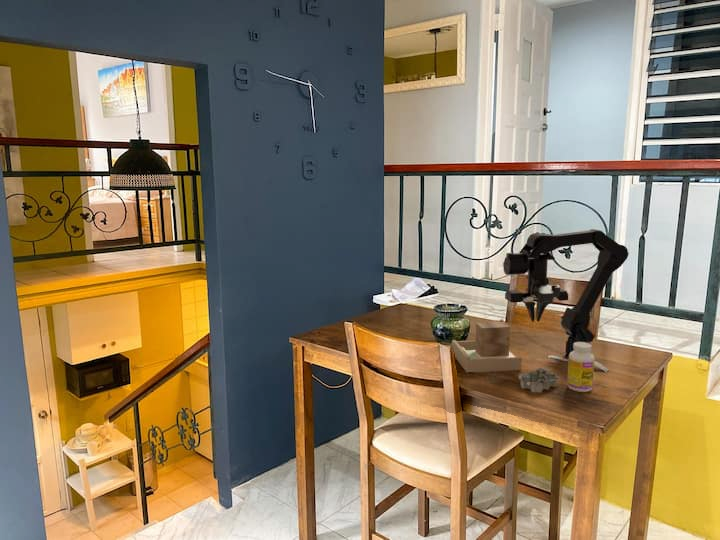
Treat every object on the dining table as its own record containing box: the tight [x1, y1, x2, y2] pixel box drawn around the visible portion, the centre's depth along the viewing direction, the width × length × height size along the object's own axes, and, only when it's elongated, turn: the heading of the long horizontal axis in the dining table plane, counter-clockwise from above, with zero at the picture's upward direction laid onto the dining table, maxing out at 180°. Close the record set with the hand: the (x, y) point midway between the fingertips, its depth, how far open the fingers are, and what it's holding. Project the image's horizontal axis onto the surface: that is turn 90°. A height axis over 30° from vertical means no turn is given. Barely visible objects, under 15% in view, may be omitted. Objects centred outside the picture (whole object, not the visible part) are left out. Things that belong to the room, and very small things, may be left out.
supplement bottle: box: [566, 342, 595, 393], centre depth 152 cm, size 7×7×13 cm
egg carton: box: [517, 367, 560, 393], centre depth 155 cm, size 11×8×4 cm
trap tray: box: [451, 339, 522, 374], centre depth 175 cm, size 17×18×5 cm
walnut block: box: [475, 321, 511, 357], centre depth 175 cm, size 9×6×10 cm, turn 95°
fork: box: [547, 355, 609, 373], centre depth 172 cm, size 3×21×3 cm, turn 43°
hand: (535, 321), depth 175 cm, fingers closed
